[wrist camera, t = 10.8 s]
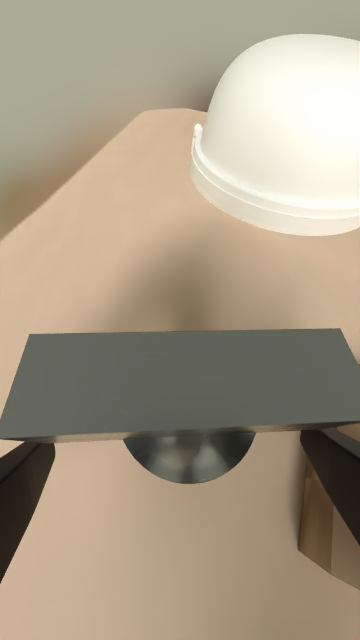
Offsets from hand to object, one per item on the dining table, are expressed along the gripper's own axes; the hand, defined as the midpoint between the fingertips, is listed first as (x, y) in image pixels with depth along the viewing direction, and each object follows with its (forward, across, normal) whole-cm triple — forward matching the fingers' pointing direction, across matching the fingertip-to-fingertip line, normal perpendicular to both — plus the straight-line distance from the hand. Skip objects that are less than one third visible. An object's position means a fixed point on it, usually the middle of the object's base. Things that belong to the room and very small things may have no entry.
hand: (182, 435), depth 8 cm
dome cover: (+33, -19, -20) cm, 43 cm away
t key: (+7, 0, +6) cm, 9 cm away
